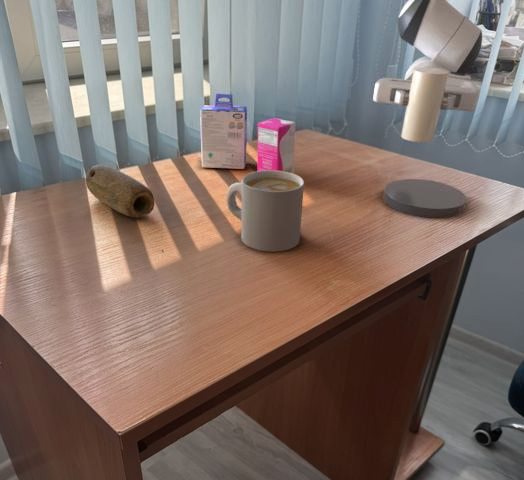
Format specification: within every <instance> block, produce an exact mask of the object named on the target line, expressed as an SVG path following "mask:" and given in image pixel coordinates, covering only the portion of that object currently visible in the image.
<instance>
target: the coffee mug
mask: <svg viewBox="0 0 524 480" xmlns="http://www.w3.org/2000/svg"><path fill="white" fill-rule="evenodd" d="M304 189H305V181H304V179H303V178H302V177H301V176H300V175H297V174H295V173H294V172H293V173H289V172H285V171H277V170H263V171H257V170H256V171H251V172H248V173H247V174H244V175H243V177H242V179H241V182H234V183H232V184H231V185H230V186H229V187H228V189H227V193H226V205H227V209H228V211H229V212H230V213H231V214H232V215H233V216H234V217H236V218H237V219H239V220H240V222H241V226H240V227H241V229H240V231H241V233H240V235H241V236H240V237H241V241H242V242H243V244H245V245H246V246H247V247H249V248H251V249H253V250H257V251H260V252H261V251H262V252H283V251H287V250H291V249H293V248H295V247H296V246H297V245H298V244H299V243H300V239H301V237H300V236H301V225H302V215H303V214H302V213H303V204H304V203H303V201H304ZM237 193H238V194H240V196H241V207H239V206H238V204H237V200H236V199H237V197H236V195H237Z"/></svg>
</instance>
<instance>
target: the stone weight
mask: <svg viewBox="0 0 524 480" xmlns="http://www.w3.org/2000/svg"><path fill="white" fill-rule="evenodd" d="M85 185H86V188H87V189H88V191H89V192H90V193H91V194H92V195H93V197H95V199H97V200H98V201H100V202H102V203H103V204H104V205H106V206H108V207H109V208H111V209H113V210H114V211H116V212H118V213H120V214H121V215H124V216H127V217H130V218H140V217H144V216H147V215H149V214H150V213H152V211H153V210H154V207H155V197H154V194H153V192H152V191H151V189H150V188H149V187H148V186H147V185H145V184H143V183H142V182H141V181H139V180H137V179H136V178H134V177H132V176H130V175H128V174H126V173H124V172H123V171H121V170H119V169H116V168H114V167H113V166H110V165H106V164H95V165H93V166H91V167H90V168H89V169H88V171H87V173H86V175H85Z"/></svg>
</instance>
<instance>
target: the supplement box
mask: <svg viewBox="0 0 524 480" xmlns="http://www.w3.org/2000/svg"><path fill="white" fill-rule="evenodd" d="M295 139H296V122H295V121H291V120H285V119H281V118H277V117H273V118H270V119H266V120H262V121H260V122H258V123H257V157H256V158H257V160H256V161H257V165H256V166H257V167H256V168H257V170H256V171H263V170H277V171H285V172H289V173H293V174H294V164H295V163H294V161H295V159H294V158H295V144H296V143H295V142H296V140H295Z"/></svg>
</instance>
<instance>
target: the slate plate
mask: <svg viewBox="0 0 524 480" xmlns="http://www.w3.org/2000/svg"><path fill="white" fill-rule="evenodd" d="M382 199H383V201H384V203H385V204H386V205H387V206H389V207H390V208H392V209H394V210H395V211H398V212H401V213H404V214H406V215H410V216H415V217H422V218H430V219H431V218H433V219H442V218H443V219H444V218H450V217H454V216H457V215H459V214H461V213H462V212H463V211H464V209H465V206H466V203H467V196H466V195H465V193H463V191H462V190H460V189H458V188H456V187H454V186H452V185H449V184H446V183H443V182H440V181H434V180H430V179H429V180H428V179H423V178H422V179H419V178H404V179H397V180H393V181H390V182H389V183H387V184H386V185H385V186H384V189H383V194H382Z"/></svg>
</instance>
